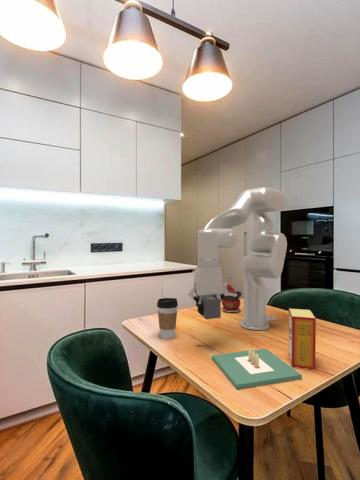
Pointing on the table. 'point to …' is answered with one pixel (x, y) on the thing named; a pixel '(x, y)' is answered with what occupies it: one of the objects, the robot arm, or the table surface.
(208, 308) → the block
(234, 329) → the table surface
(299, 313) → the baking soda box
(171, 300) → the coffee cup
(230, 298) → the red christmas figurine
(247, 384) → the pin board
